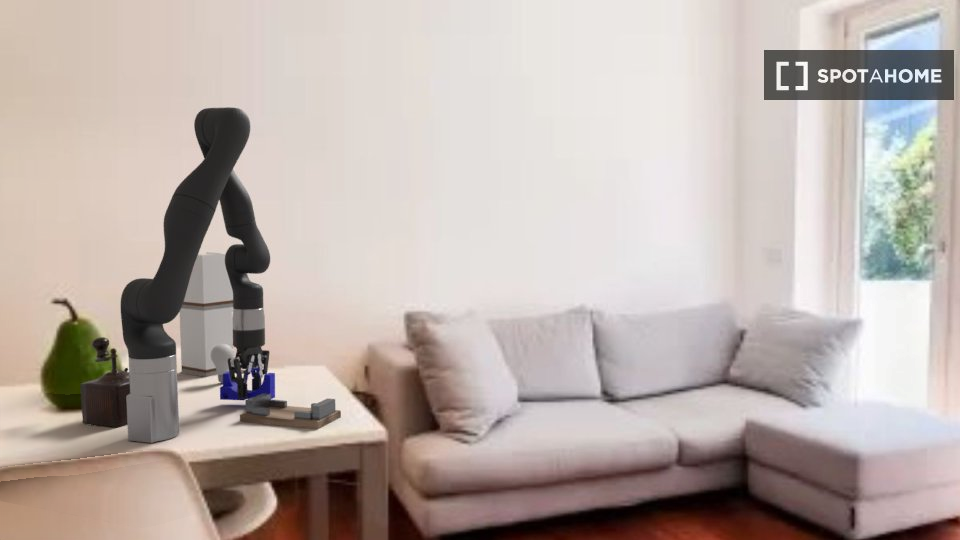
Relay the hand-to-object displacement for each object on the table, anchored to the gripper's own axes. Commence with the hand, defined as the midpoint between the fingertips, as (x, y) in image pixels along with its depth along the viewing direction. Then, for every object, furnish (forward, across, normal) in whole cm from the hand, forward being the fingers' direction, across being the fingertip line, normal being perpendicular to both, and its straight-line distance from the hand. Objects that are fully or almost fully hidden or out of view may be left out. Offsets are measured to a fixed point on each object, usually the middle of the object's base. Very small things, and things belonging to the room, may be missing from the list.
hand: (249, 395), depth 184 cm
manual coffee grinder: (+3, -19, +24) cm, 31 cm away
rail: (+3, -8, -16) cm, 18 cm away
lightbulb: (+2, +18, +22) cm, 29 cm away
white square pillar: (+2, +31, +36) cm, 47 cm away
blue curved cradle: (+1, 0, 0) cm, 1 cm away
